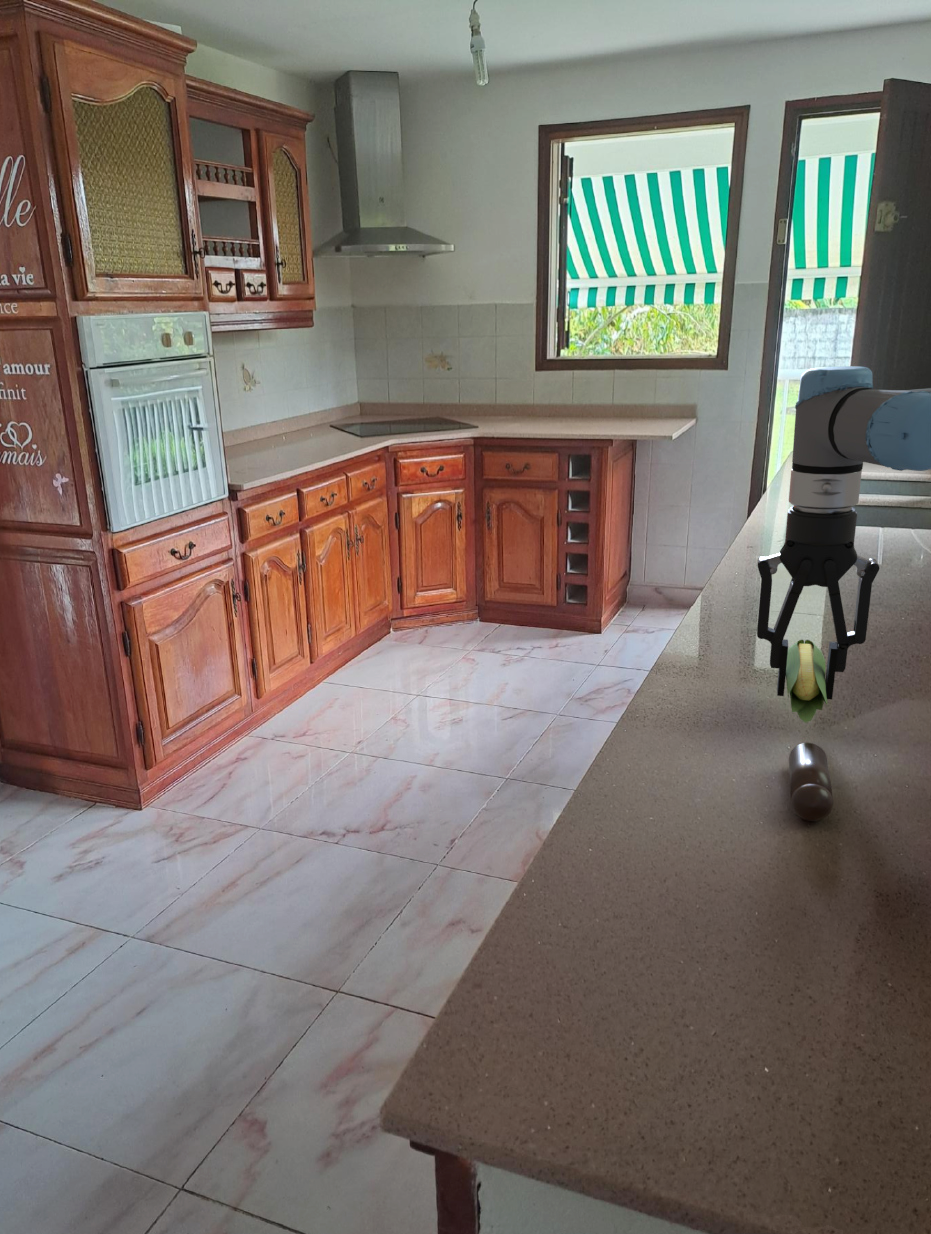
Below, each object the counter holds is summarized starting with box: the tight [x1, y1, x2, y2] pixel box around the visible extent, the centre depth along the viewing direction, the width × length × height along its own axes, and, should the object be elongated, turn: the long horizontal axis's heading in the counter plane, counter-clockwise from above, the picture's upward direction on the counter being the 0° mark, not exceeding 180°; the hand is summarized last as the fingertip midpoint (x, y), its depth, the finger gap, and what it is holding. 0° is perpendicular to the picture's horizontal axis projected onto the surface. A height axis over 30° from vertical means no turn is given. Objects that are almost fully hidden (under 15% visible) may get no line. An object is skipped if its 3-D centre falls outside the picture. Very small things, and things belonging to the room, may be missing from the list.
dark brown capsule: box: [788, 742, 834, 822], centre depth 103 cm, size 14×4×4 cm, turn 162°
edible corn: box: [785, 639, 828, 724], centre depth 120 cm, size 5×20×5 cm, turn 161°
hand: (804, 693), depth 120 cm, fingers closed on edible corn, 5 cm apart
